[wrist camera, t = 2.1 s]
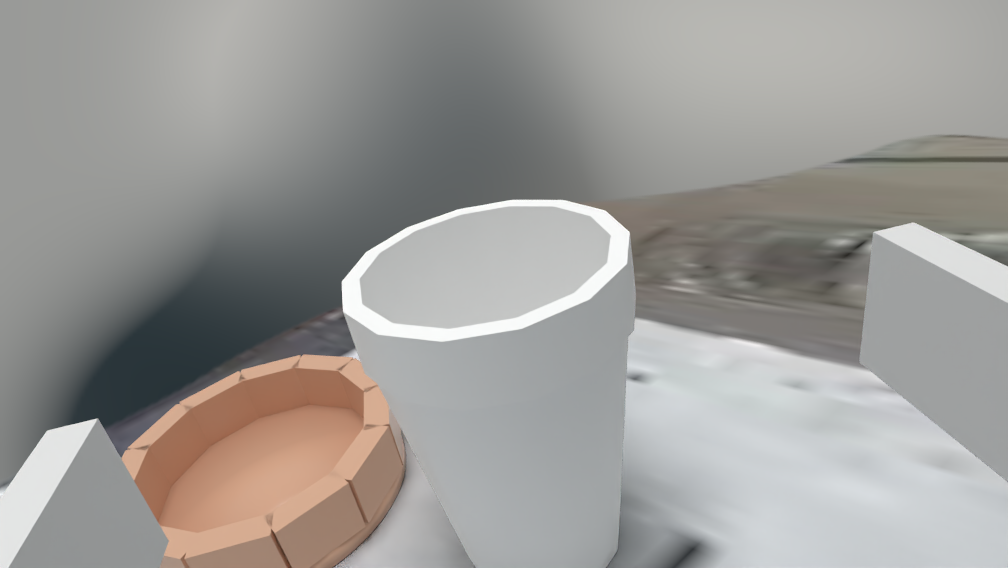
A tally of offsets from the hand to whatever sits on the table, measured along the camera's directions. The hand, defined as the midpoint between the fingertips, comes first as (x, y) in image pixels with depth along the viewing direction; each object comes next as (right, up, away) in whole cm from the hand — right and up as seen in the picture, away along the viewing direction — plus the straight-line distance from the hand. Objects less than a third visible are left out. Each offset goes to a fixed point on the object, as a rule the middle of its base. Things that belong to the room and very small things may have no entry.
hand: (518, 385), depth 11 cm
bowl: (-11, -8, +21) cm, 26 cm away
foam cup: (+1, -9, +16) cm, 18 cm away
